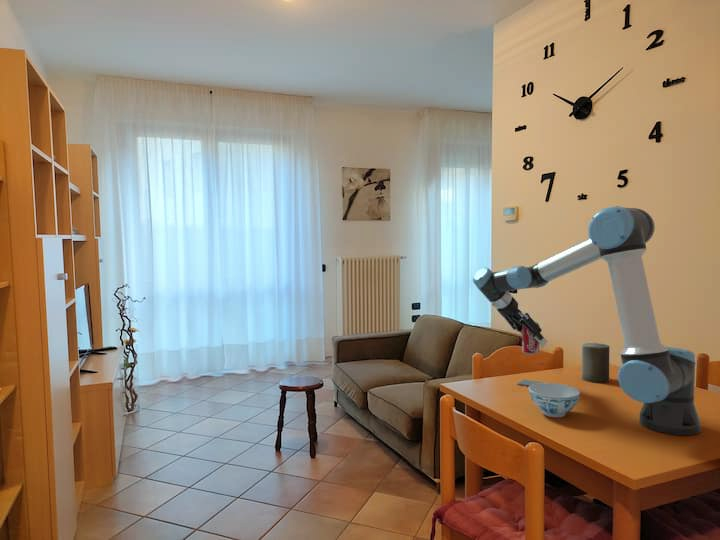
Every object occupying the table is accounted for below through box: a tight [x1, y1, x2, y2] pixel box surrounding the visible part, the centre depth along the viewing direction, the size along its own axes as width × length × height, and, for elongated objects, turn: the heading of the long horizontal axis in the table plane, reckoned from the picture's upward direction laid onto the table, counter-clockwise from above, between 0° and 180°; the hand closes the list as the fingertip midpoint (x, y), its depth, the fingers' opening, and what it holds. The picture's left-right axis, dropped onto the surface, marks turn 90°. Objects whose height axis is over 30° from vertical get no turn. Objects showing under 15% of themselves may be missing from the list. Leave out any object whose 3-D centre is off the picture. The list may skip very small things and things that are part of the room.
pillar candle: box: [581, 342, 610, 384], centre depth 189 cm, size 10×10×15 cm
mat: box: [517, 379, 544, 387], centre depth 183 cm, size 7×8×1 cm
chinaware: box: [528, 382, 581, 418], centre depth 152 cm, size 15×15×8 cm
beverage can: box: [521, 320, 541, 355], centre depth 183 cm, size 6×6×12 cm
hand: (538, 342), depth 184 cm, fingers closed on beverage can, 6 cm apart
